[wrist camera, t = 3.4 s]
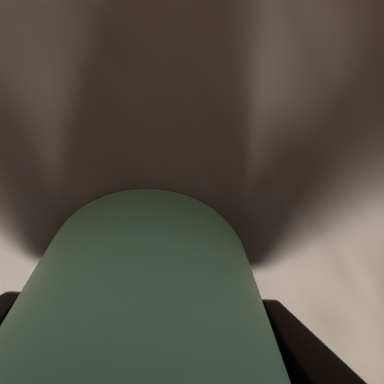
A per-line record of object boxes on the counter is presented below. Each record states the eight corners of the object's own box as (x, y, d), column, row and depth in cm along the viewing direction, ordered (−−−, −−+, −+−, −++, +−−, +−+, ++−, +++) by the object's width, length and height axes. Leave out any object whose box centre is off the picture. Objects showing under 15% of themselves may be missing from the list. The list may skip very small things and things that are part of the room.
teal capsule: (288, 266, 8) (424, 530, 4) (164, 375, 10) (157, 661, 5) (127, 143, 7) (41, 340, 2) (7, 292, 8) (-192, 597, 4)
